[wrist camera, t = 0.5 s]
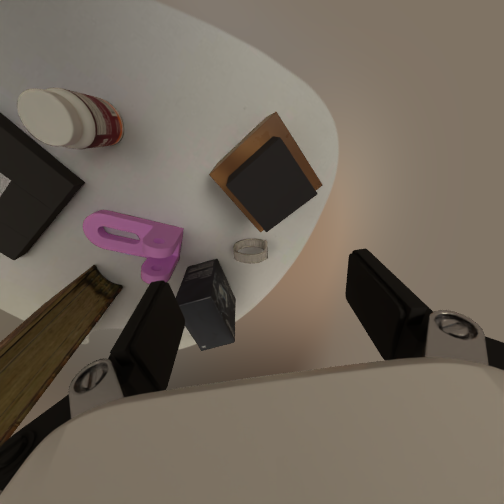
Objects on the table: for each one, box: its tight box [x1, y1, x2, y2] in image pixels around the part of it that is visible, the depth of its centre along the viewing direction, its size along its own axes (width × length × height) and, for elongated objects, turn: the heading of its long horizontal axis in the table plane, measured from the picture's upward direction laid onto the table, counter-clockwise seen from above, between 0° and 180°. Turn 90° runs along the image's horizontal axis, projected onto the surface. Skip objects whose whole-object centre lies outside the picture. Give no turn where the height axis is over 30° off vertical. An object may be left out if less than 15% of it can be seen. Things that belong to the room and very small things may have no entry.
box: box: [176, 259, 236, 351], centre depth 33 cm, size 9×6×10 cm, turn 17°
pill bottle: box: [17, 88, 124, 149], centre depth 21 cm, size 5×5×8 cm
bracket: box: [83, 210, 184, 284], centre depth 28 cm, size 13×6×7 cm, turn 74°
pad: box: [226, 136, 317, 232], centre depth 19 cm, size 5×5×4 cm
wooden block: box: [209, 112, 322, 232], centre depth 24 cm, size 8×8×8 cm
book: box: [0, 265, 123, 447], centre depth 26 cm, size 16×6×25 cm, turn 125°
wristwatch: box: [233, 239, 268, 263], centre depth 31 cm, size 3×5×5 cm, turn 93°
